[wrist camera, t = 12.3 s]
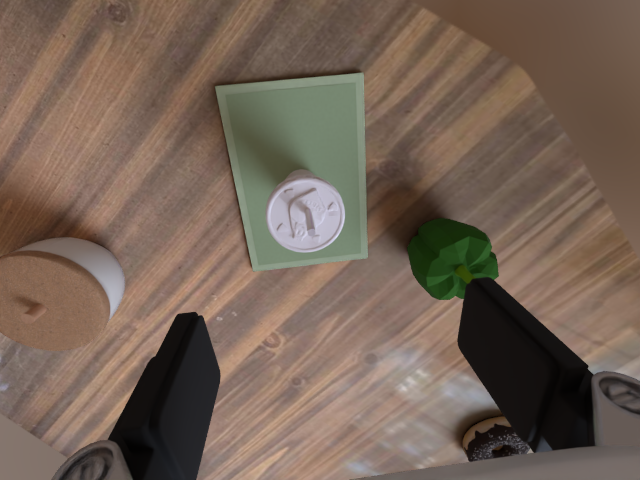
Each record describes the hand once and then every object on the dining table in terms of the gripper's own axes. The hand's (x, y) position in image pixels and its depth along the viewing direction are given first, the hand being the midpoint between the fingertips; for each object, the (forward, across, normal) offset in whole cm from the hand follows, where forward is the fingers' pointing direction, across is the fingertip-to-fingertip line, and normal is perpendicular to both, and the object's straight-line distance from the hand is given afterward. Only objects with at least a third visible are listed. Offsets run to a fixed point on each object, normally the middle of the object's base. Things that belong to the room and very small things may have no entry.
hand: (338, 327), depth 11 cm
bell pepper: (+24, -14, +10) cm, 30 cm away
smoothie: (+24, +1, +1) cm, 24 cm away
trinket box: (+24, +26, +8) cm, 36 cm away
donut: (+24, -29, +50) cm, 62 cm away
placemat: (+24, +1, +1) cm, 24 cm away
